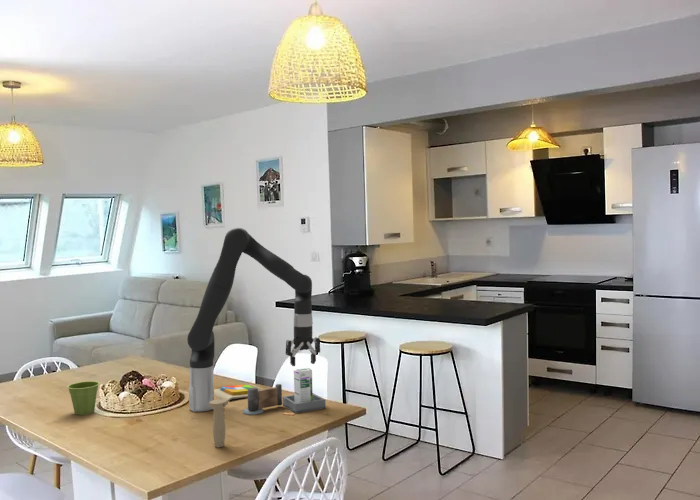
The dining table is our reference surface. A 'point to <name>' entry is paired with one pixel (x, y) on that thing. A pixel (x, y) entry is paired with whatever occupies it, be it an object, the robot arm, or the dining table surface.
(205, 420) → the dining table surface
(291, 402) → the grey tray
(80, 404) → the plant pot
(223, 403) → the handle
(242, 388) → the wooden puzzle
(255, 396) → the crank lever
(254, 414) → the crank base
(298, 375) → the syrup box
